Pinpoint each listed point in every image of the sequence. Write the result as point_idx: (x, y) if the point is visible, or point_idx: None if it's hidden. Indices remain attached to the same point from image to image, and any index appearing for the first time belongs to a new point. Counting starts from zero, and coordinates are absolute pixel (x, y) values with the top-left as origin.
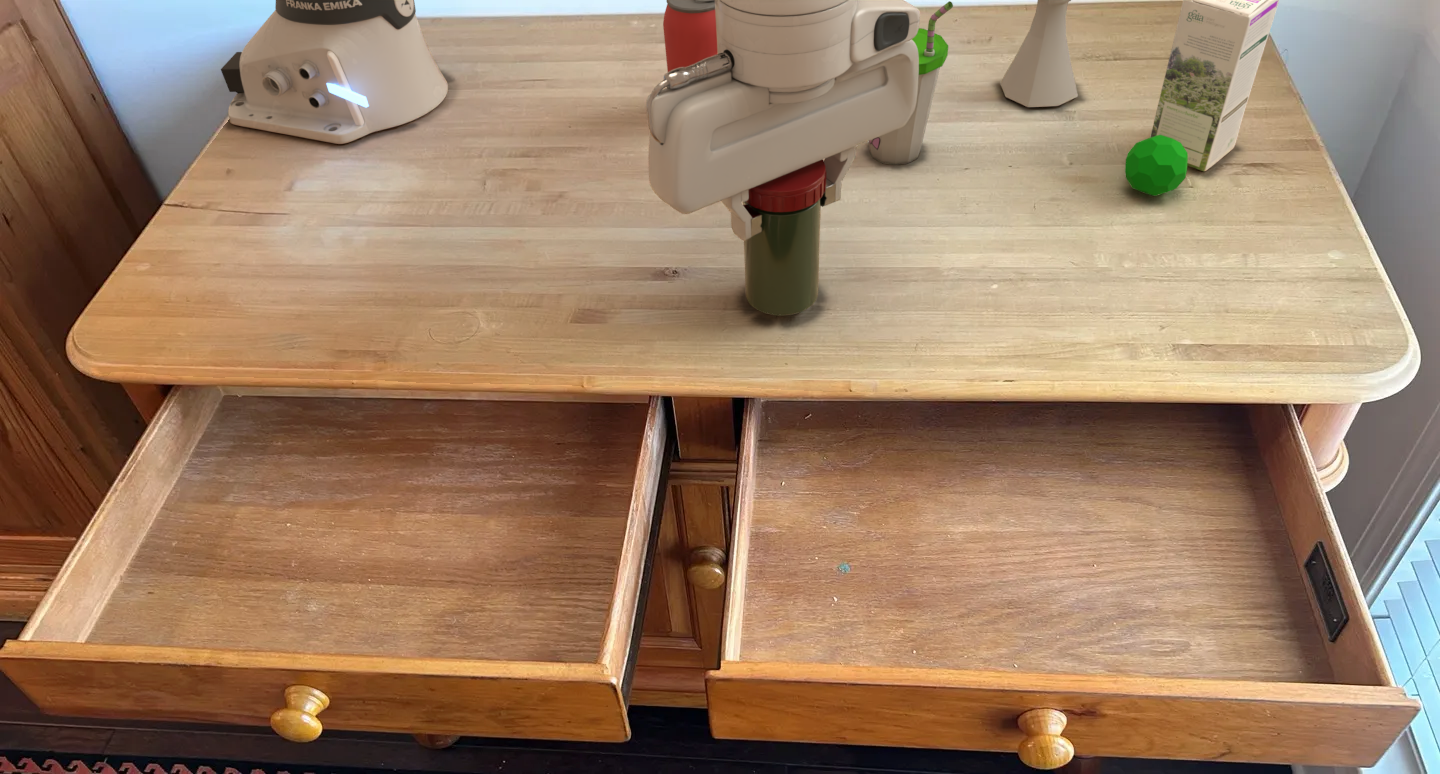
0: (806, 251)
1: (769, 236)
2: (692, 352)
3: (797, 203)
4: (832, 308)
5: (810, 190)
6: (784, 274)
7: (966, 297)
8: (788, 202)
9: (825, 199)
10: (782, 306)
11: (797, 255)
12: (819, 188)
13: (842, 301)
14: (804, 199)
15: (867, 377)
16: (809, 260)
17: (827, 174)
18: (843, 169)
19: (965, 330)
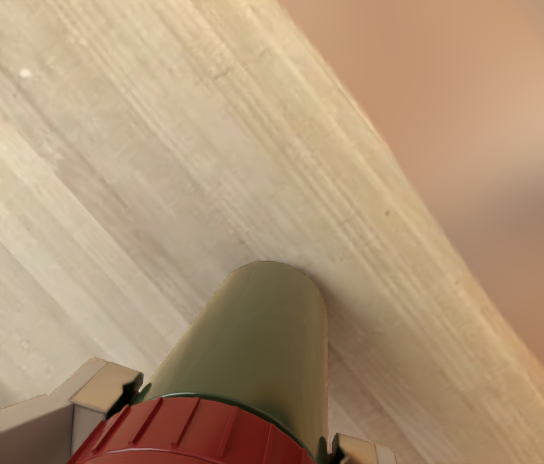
0: (256, 317)
1: (322, 408)
2: (451, 338)
3: (261, 444)
4: (235, 239)
5: (194, 455)
6: (306, 319)
7: (75, 91)
8: None
9: (127, 384)
10: (312, 288)
11: (279, 325)
12: (150, 432)
13: (213, 237)
14: (233, 438)
15: (334, 87)
16: (252, 302)
17: (58, 442)
18: (9, 424)
19: (136, 36)
